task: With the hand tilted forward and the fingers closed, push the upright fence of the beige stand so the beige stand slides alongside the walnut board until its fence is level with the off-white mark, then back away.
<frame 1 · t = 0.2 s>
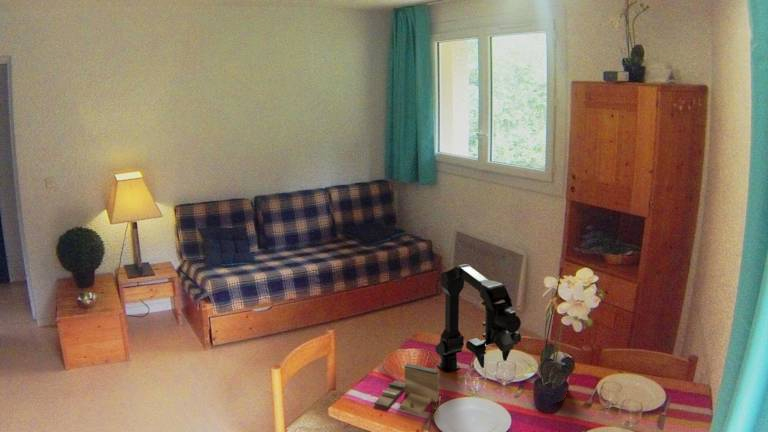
hand: (493, 364, 203), 15 cm above the table, tool pointing down, fingers open, 9 cm apart
board: (391, 395, 213), on the table
beige stand: (421, 396, 212), on the table
cup: (558, 388, 215), on the table
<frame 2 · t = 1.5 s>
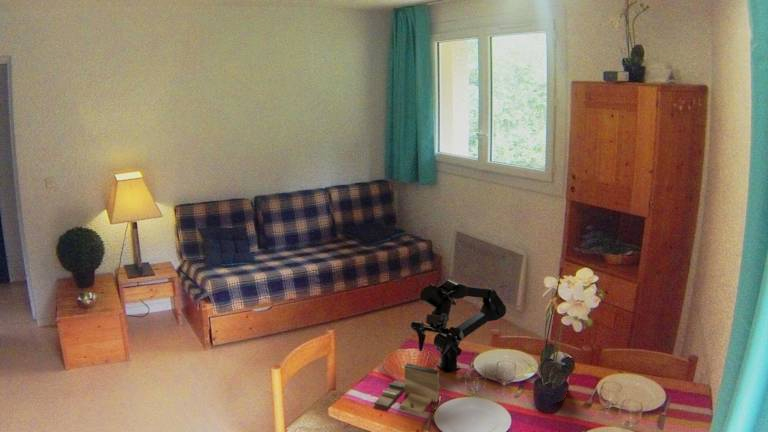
hand: (431, 353, 215), 13 cm above the table, tool tilted 45°, fingers open, 8 cm apart
nothing on the table moved.
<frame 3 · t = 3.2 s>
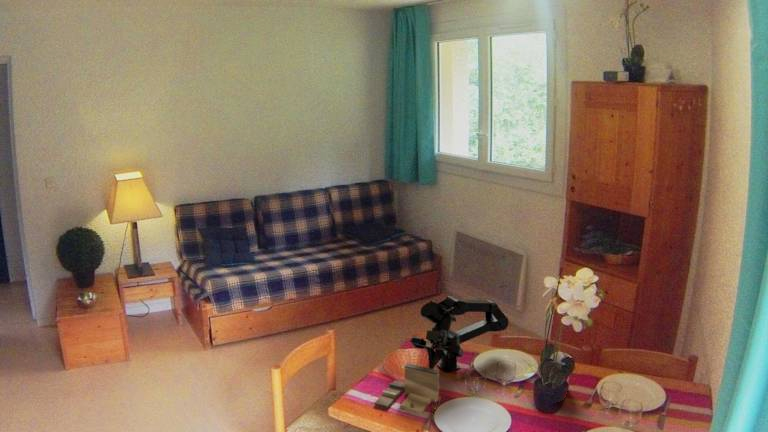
hand: (430, 369, 217), 7 cm above the table, tool tilted 45°, fingers closed
nothing on the table moved.
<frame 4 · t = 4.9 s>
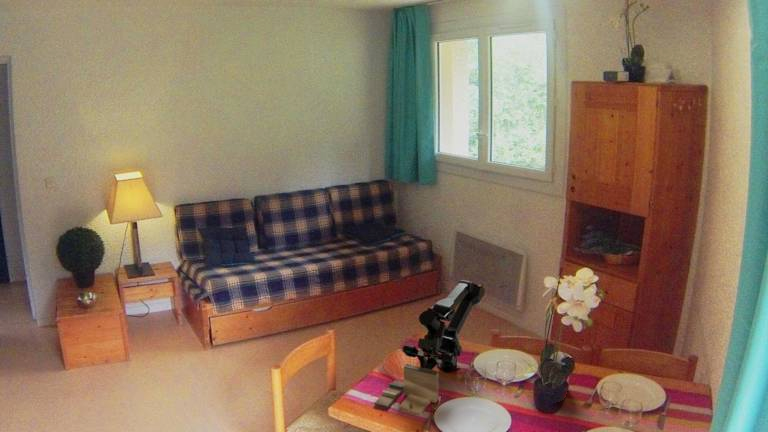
hand: (422, 378, 211), 7 cm above the table, tool tilted 45°, fingers closed, pressing on beige stand
beige stand: (421, 397, 211), on the table, touching gripper
everything else where it was.
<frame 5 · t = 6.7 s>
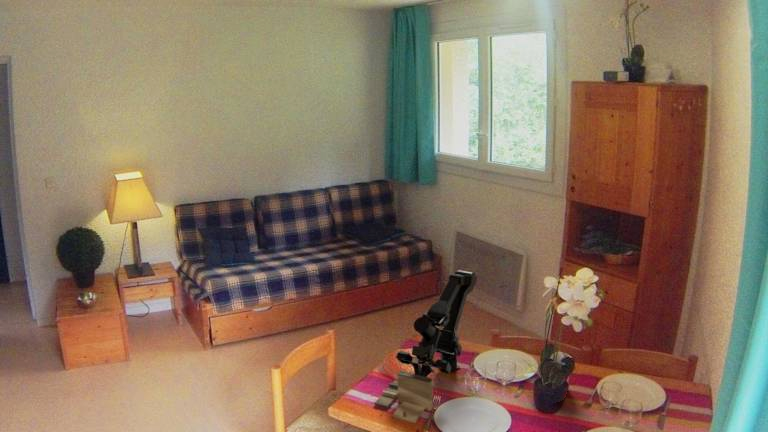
hand: (416, 386, 206), 7 cm above the table, tool tilted 45°, fingers closed
beige stand: (415, 405, 207), on the table
everything else where it was.
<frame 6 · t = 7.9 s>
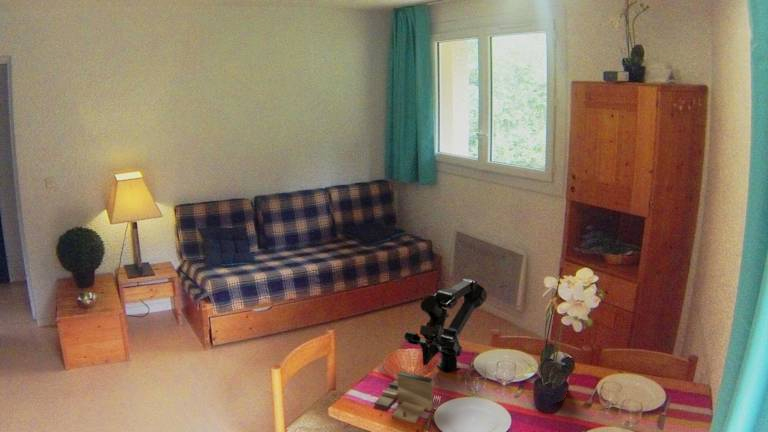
hand: (424, 365, 211), 11 cm above the table, tool tilted 45°, fingers closed
nothing on the table moved.
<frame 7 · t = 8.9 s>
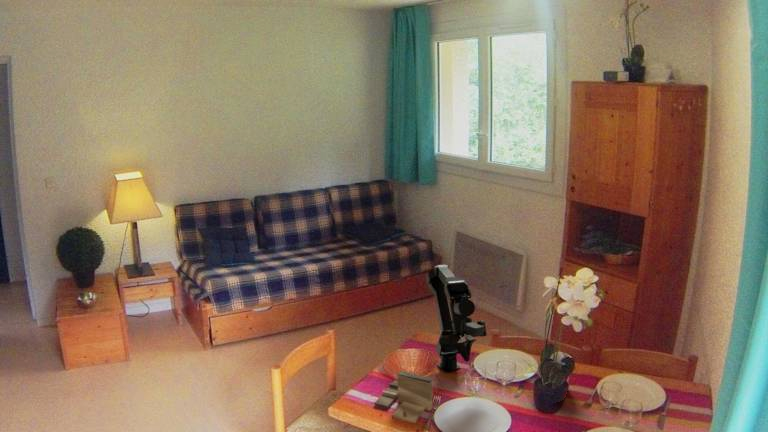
hand: (467, 361, 210), 12 cm above the table, tool tilted 25°, fingers closed
nothing on the table moved.
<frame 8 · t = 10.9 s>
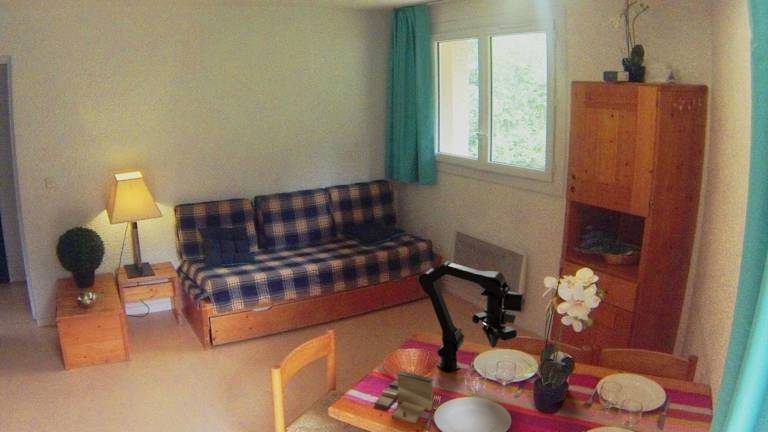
hand: (493, 347, 221), 12 cm above the table, tool pointing down, fingers closed
nothing on the table moved.
at the end: beige stand inside the target area (0.2 cm from its centre), on the table; beige stand tilted 0°; beige stand moved 5.8 cm from its start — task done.
